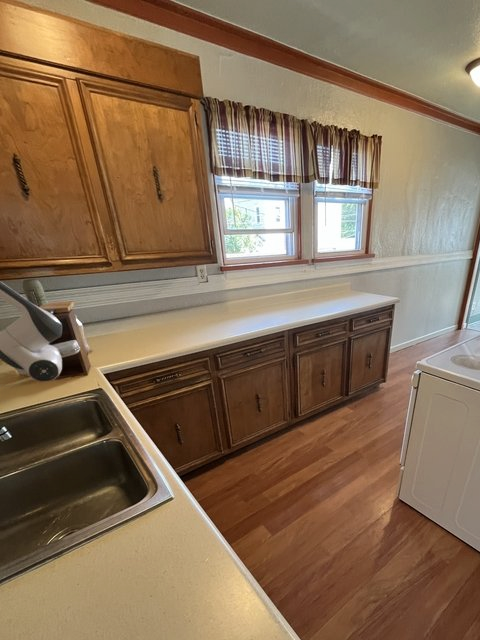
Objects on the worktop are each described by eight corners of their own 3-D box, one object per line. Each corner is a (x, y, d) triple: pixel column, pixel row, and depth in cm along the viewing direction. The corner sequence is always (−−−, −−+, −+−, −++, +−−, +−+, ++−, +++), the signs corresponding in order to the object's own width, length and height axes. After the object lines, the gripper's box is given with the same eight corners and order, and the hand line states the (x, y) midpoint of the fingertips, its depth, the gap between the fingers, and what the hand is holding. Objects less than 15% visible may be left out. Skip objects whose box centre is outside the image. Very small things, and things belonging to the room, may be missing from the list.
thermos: (65, 345, 180) (42, 278, 164) (64, 351, 171) (40, 280, 155) (46, 347, 176) (20, 279, 160) (43, 353, 167) (16, 281, 151)
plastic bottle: (89, 351, 170) (77, 312, 161) (93, 354, 165) (81, 315, 156) (75, 354, 166) (62, 314, 157) (78, 357, 161) (65, 317, 152)
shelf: (65, 316, 126) (63, 311, 125) (31, 319, 122) (29, 314, 121) (74, 305, 146) (73, 300, 145) (45, 307, 142) (43, 302, 141)
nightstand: (87, 375, 141) (68, 314, 130) (55, 379, 137) (32, 317, 125) (90, 366, 151) (73, 309, 139) (60, 370, 147) (39, 311, 135)
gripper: (76, 340, 112) (74, 332, 122) (3, 358, 103) (8, 348, 113) (84, 357, 115) (82, 348, 125) (14, 376, 106) (18, 365, 116)
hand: (46, 348), depth 119 cm, fingers open, 8 cm apart
